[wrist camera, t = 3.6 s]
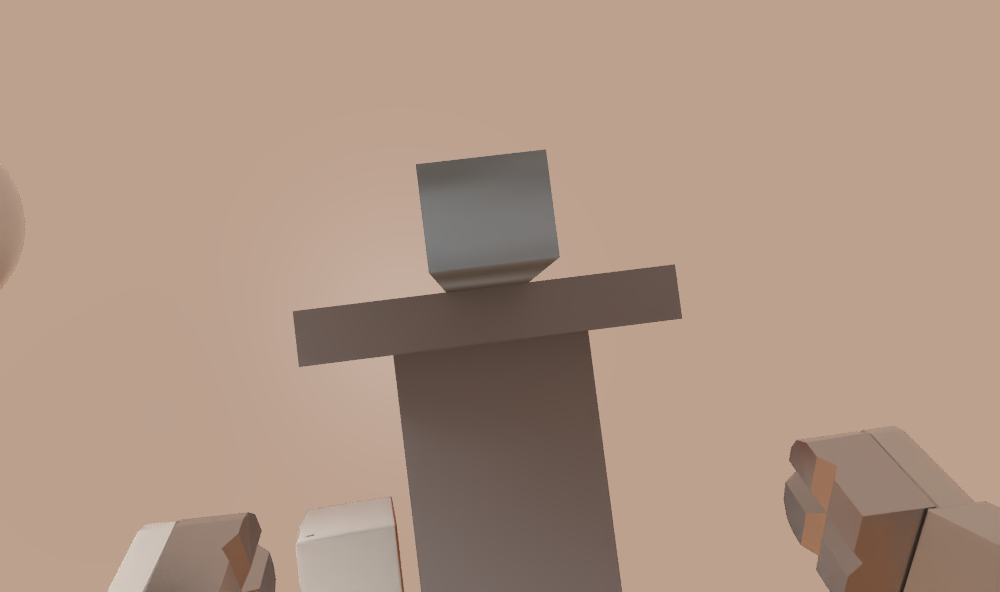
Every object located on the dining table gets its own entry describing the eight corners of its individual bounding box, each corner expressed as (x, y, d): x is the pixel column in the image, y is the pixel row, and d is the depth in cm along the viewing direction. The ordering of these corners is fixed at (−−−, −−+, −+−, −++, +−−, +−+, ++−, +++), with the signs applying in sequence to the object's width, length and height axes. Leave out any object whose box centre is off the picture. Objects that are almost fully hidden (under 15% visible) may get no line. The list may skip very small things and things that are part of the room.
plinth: (774, 993, 23) (674, 264, 24) (377, 1061, 23) (292, 311, 24) (662, 743, 37) (602, 286, 38) (414, 781, 37) (360, 316, 38)
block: (559, 256, 15) (546, 149, 15) (429, 273, 15) (415, 164, 15) (509, 297, 37) (504, 253, 37) (456, 304, 37) (451, 259, 37)
